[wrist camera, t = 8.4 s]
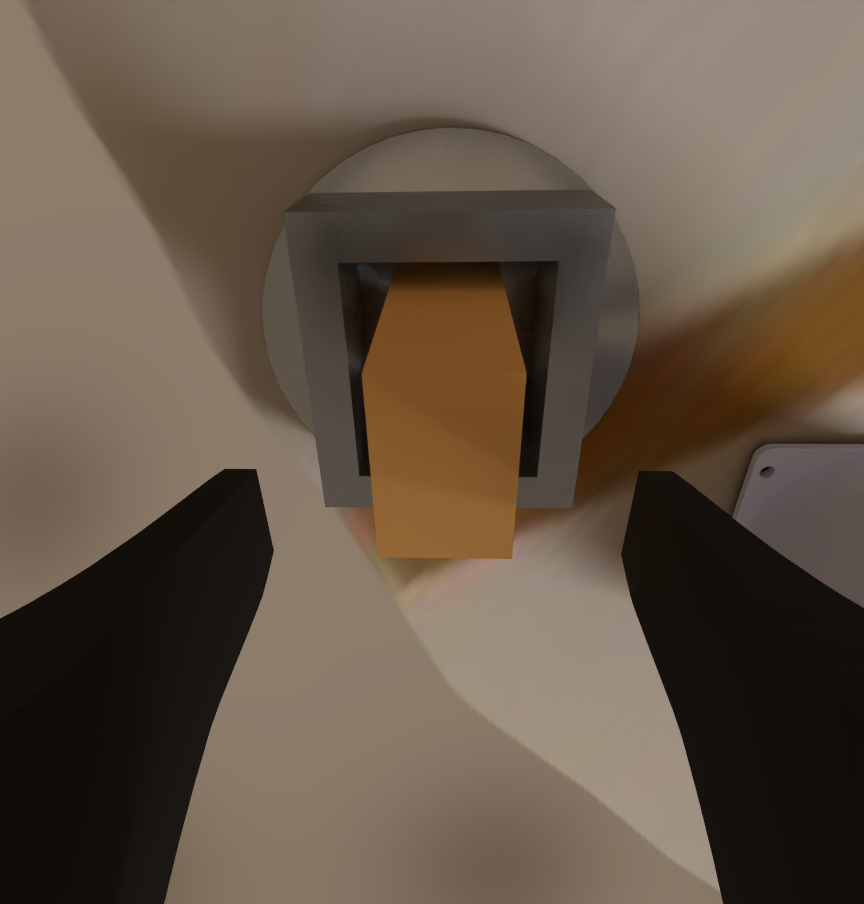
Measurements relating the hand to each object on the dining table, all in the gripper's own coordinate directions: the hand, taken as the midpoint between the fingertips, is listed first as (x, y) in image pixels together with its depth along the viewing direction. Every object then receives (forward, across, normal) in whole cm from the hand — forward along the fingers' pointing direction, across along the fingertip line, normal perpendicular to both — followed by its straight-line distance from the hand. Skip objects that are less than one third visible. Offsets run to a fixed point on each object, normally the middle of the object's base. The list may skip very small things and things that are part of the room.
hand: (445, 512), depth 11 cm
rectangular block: (+9, 0, 0) cm, 9 cm away
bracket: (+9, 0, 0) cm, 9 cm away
